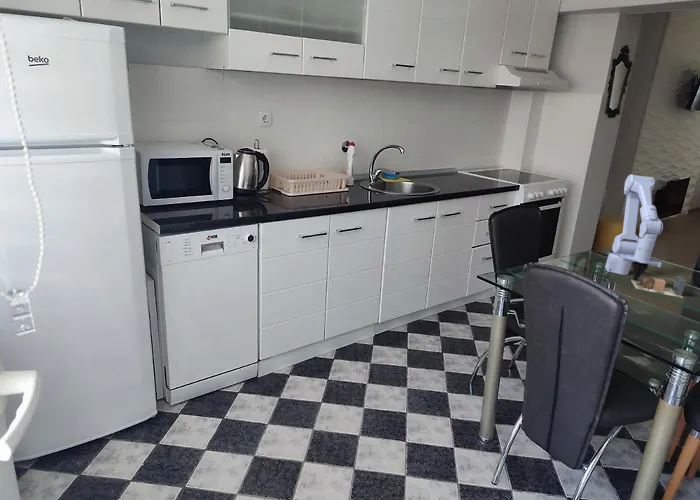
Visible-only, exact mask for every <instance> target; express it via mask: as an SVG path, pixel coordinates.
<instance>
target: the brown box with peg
mask: <svg viewBox="0 0 700 500" xmlns="http://www.w3.org/2000/svg"><path fill="white" fill-rule="evenodd" d="M652 277H653V276H652V275H648V274H645V273H644V274H643V273H642V275H641V280H640V282H641V285H642V286H643V287H645V288H650V289H651V287H652V284H653V281H654V279H653V278H652Z"/></svg>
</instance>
